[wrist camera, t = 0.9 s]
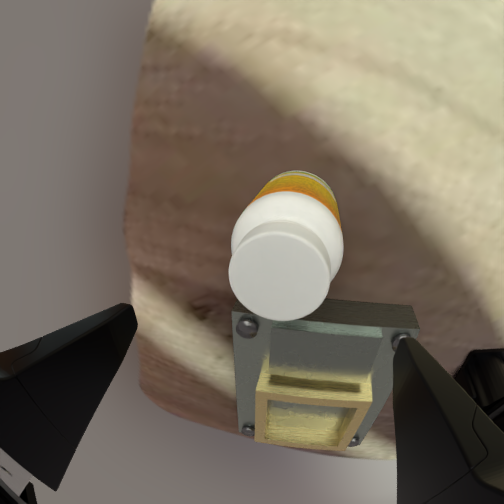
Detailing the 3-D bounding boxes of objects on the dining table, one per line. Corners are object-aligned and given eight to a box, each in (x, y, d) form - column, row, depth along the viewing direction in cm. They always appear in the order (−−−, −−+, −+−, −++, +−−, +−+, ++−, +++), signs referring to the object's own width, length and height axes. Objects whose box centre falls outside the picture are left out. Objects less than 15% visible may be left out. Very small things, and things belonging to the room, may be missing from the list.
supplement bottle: (254, 172, 19) (198, 217, 11) (335, 167, 18) (349, 209, 9) (263, 245, 21) (222, 332, 13) (337, 243, 20) (345, 335, 11)
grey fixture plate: (411, 305, 21) (426, 347, 16) (359, 424, 28) (359, 459, 24) (242, 289, 23) (223, 328, 19) (245, 412, 31) (234, 445, 27)
